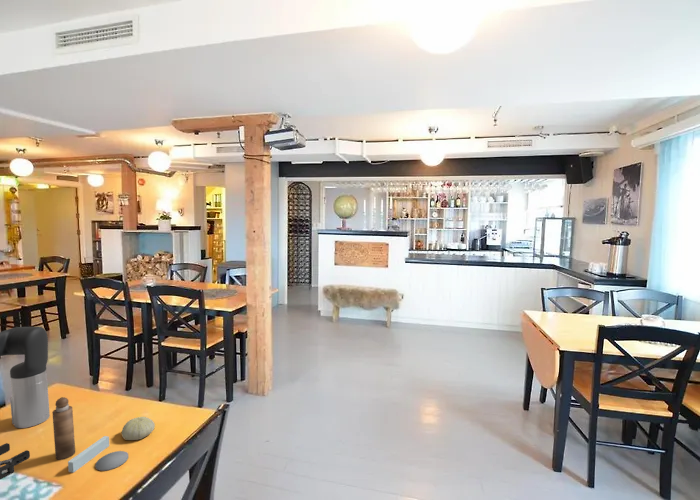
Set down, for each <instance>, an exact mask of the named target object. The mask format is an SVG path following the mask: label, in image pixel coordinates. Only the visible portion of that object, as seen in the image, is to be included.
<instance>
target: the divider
mask: <svg viewBox="0 0 700 500" xmlns="http://www.w3.org/2000/svg"><path fill="white" fill-rule="evenodd" d="M109 447H110V436H107V435H104V436H102V437H101V438H99V439H98V440H96V441H95V442H94V443H92V444H91V445H89V446H88V447H87V448H86V449H84V450H82V451H81V452H80V453H78V454H77V455H75V456H74V457H73V458H70V460H69V461H67V466H68V467H67V468H68V473H72V474H74V473H76V472H77V471H78V470H79V469H80V468H82V467H84V466H85V465H86V464H87V463H89V462H90V461H91V460H92V459H94V458H96V457H97V456H98V455H99V454H100V453H102V452H104V451H105V450H106V449H107V448H109Z"/></svg>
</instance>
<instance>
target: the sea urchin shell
mask: <svg viewBox="0 0 700 500" xmlns="http://www.w3.org/2000/svg"><path fill="white" fill-rule="evenodd" d="M155 425H156V424H155V422H154V421H153V420H152V419H151V418H149V417H147V416H139V417H138V416H137V417H134V418H131V419H129V420H128V421H127V422H126V423H125V424H124V425H123V427H122V431H121V436H122V439H124V440H126V441H137V440H141V439H142V440H143V439H144V438H145V437H147V436H149V435H150V434H152V432H153V431H154V430H155V427H156V426H155Z"/></svg>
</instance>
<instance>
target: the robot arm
mask: <svg viewBox="0 0 700 500" xmlns="http://www.w3.org/2000/svg"><path fill="white" fill-rule="evenodd" d="M48 343H49V337H48V332H47V331H46V329H45V328H44V327H42V326H17V327H12V328H9V329H5V330H2V331H0V357H2V356H3V357H5V356H19V355H20V356H21V355H24V360H23V361H22V362H20V363H18V364H15V365H13V366H12V367H11V368H10V371H9V377H10V388H11V396H10V399H9V400H10V413H11V414H10V415H11V424H12V425H13V427H14V428H16V429H26V428H31V427H34V426H38V425H40V424H41V423H44V422H46V421H47V420H49V418H50V416H51V415H50V401H49V389H48V386H49V385H48V375H47V363H48V361H49V349H48V348H49V346H48V345H49V344H48ZM10 446H11V445H10V443H8V442H5V443H4V444H2V445H0V456H2V455H4V454H6V453H9V451H10V450H11V449H10V448H11V447H10ZM30 454H31V453H30V450H27V449H26V450H24V451H22V452H20V453H18V454H16V455H14V456H12V457H11V458H7V459H5V460H0V480H2V479H4V478H6V477H8V476H10V475H12V474H14V473H15V467H16V466H17V465H19V464H20V465H21V463H23V462H26V461H27V460H29V459H30V457H31V455H30Z"/></svg>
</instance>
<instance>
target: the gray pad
mask: <svg viewBox="0 0 700 500" xmlns="http://www.w3.org/2000/svg"><path fill="white" fill-rule="evenodd" d="M128 459H129V452H127V451H124V450H122V451H121V450H118V451H117V450H116V451H112V452H109V453H107V454H105V455H103V456H101V457H100V458H99V459H98V460H97V461H96V462H95V469H96V470H98V471H100V472H101V471H102V472H107V471H112V470H115V469H117V468H118V467H119V468H120V466H122V465H124V464H125V463H126V462H128Z"/></svg>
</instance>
